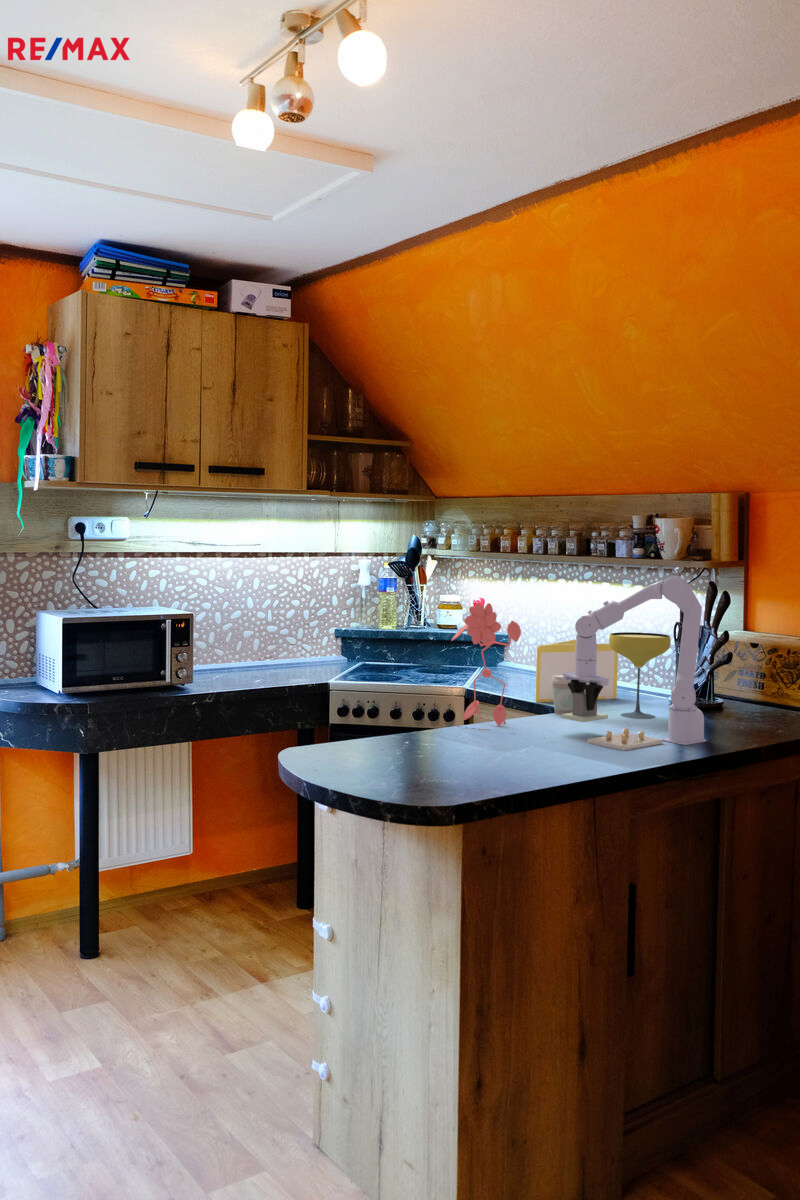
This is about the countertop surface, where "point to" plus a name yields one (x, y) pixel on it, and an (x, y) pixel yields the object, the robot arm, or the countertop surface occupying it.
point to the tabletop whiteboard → (572, 668)
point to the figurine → (484, 629)
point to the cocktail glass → (639, 656)
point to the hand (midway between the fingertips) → (584, 709)
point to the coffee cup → (562, 695)
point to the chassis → (625, 740)
